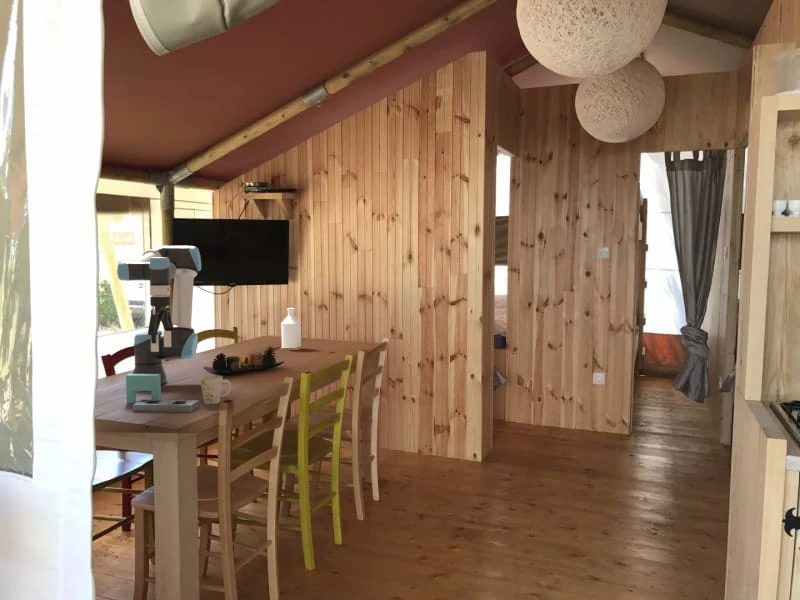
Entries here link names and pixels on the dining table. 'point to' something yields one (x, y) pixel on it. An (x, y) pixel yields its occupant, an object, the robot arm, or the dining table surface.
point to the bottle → (291, 331)
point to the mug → (213, 388)
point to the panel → (143, 385)
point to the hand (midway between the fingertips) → (161, 349)
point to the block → (166, 405)
